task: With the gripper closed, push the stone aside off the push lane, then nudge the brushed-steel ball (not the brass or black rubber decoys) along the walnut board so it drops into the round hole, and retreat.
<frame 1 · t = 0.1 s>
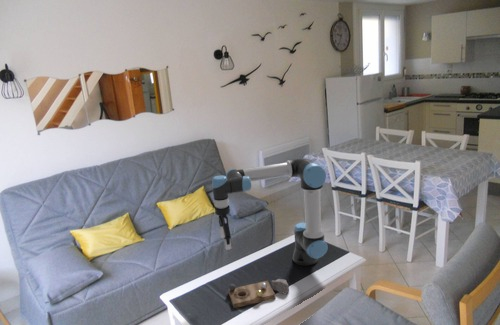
hand: (226, 243, 199), 28 cm above the table, fingers open, 13 cm apart
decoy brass: (259, 293, 194), point 4 cm above the table, touching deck
ball: (263, 286, 200), point 4 cm above the table, touching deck
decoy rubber: (232, 287, 201), point 4 cm above the table, touching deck
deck: (251, 295, 199), on the table
stone: (281, 289, 203), on the table
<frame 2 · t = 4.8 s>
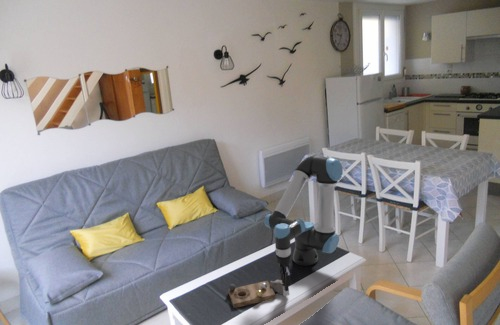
hand: (286, 294, 196), 1 cm above the table, fingers closed
stone: (280, 290, 202), on the table, touching gripper
everything else where it was.
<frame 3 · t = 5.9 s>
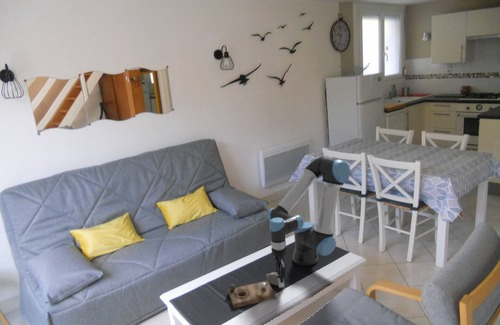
hand: (281, 286, 203), 1 cm above the table, fingers closed
stone: (275, 282, 210), on the table, touching gripper
everything else where it was.
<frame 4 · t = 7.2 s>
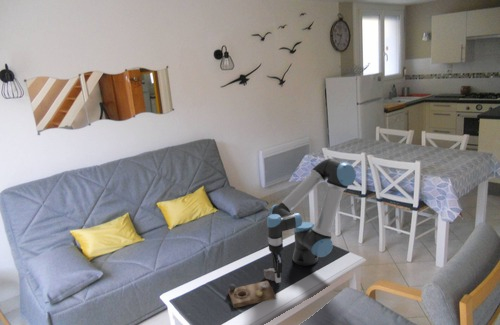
hand: (278, 281, 207), 1 cm above the table, fingers closed
stone: (272, 278, 214), on the table, touching gripper
everything else where it was.
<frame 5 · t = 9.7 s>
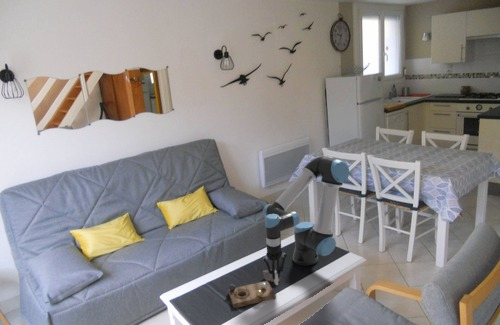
hand: (276, 283, 201), 4 cm above the table, fingers closed
stone: (272, 279, 213), on the table
everything else where it was.
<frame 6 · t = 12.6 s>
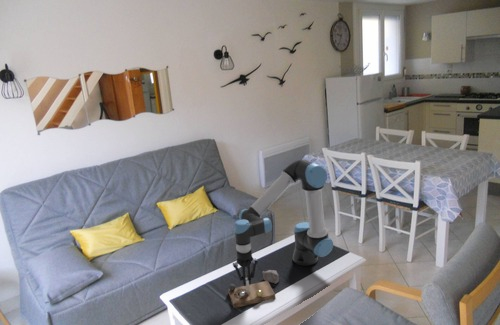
hand: (247, 290, 198), 4 cm above the table, fingers closed
ball: (242, 295, 198), point 2 cm above the table, tilted 54°
everything else where it was.
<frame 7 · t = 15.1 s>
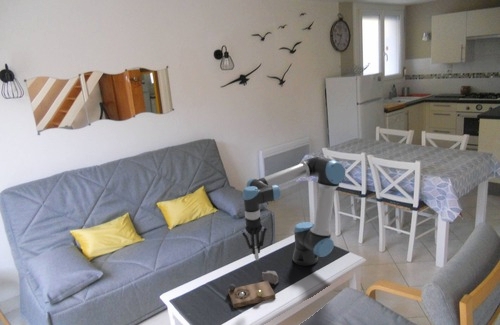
hand: (256, 258, 196), 20 cm above the table, fingers closed
ball: (241, 295, 198), point 2 cm above the table, tilted 67°
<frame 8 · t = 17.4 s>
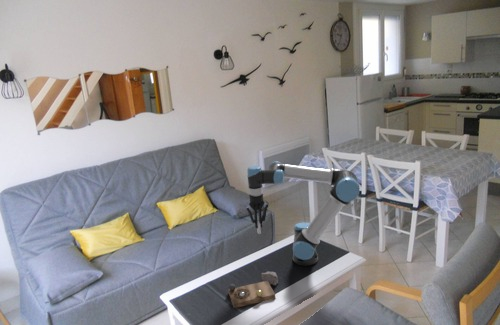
hand: (259, 232, 215), 24 cm above the table, fingers closed
ball: (242, 295, 198), point 2 cm above the table, tilted 57°
at the end: ball 0.1 cm from the target spot in the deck, point 1.7 cm above the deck's base; stone moved 9.5 cm from its start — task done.
